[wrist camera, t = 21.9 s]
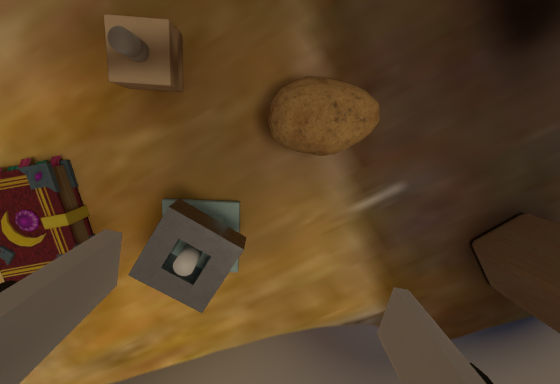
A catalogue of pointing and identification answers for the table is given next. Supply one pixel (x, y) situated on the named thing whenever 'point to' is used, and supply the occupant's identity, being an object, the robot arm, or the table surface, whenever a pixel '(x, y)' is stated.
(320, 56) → the table surface
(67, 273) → the robot arm
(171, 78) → the stand
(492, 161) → the table surface
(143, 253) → the grey square frame
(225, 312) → the table surface
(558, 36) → the table surface
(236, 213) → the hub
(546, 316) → the wooden block
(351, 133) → the potato
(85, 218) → the decorative book
